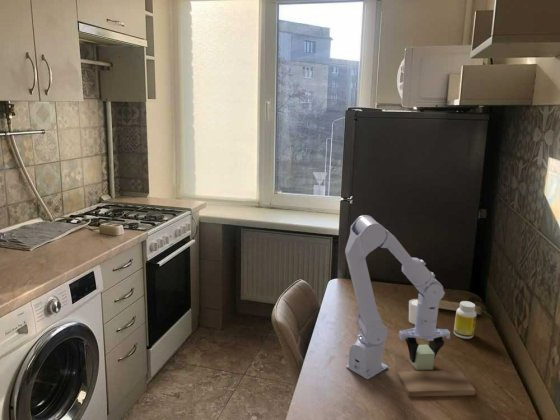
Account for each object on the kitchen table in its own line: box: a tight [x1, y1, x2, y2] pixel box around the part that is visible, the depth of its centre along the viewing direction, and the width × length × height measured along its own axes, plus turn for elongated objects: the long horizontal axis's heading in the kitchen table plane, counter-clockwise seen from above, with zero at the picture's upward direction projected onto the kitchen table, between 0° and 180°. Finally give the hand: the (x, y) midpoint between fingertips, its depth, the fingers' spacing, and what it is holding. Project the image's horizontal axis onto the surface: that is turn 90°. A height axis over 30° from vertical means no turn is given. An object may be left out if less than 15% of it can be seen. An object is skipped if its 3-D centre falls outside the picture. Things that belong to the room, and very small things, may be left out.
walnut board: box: [396, 370, 476, 398], centre depth 126 cm, size 9×18×2 cm, turn 95°
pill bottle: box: [453, 300, 477, 340], centre depth 153 cm, size 6×6×11 cm
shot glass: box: [408, 298, 418, 325], centre depth 162 cm, size 7×7×7 cm
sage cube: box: [409, 344, 436, 371], centre depth 135 cm, size 5×5×5 cm
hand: (421, 360), depth 136 cm, fingers closed on sage cube, 5 cm apart
